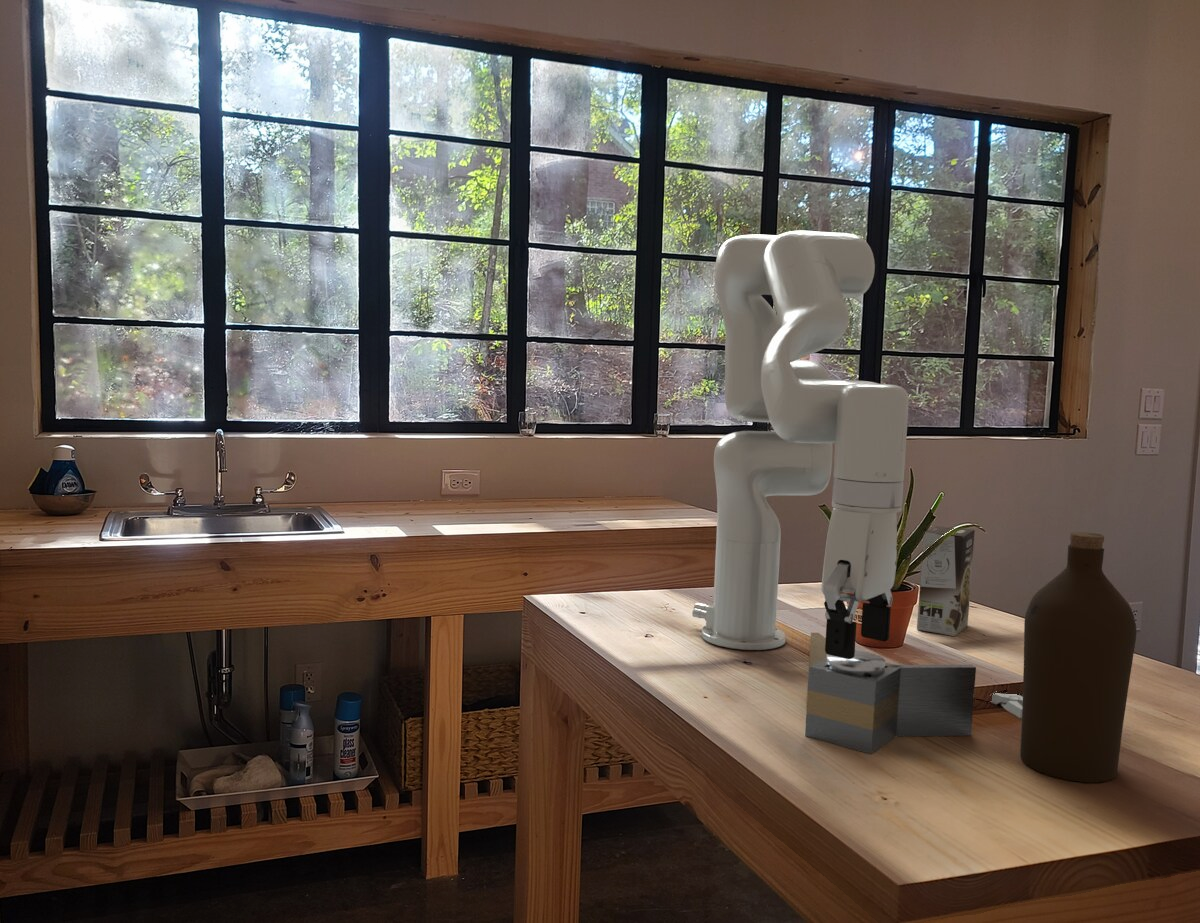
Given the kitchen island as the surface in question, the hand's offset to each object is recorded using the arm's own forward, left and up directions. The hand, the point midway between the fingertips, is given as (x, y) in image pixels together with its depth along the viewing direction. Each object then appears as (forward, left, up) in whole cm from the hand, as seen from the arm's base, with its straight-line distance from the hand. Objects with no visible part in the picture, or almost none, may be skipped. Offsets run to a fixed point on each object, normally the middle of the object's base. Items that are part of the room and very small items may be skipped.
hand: (857, 647), depth 112 cm
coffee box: (-9, +56, -10) cm, 58 cm away
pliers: (+8, +26, -11) cm, 29 cm away
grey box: (0, +3, -10) cm, 11 cm away
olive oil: (+21, +8, -10) cm, 25 cm away
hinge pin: (0, 0, -10) cm, 10 cm away
